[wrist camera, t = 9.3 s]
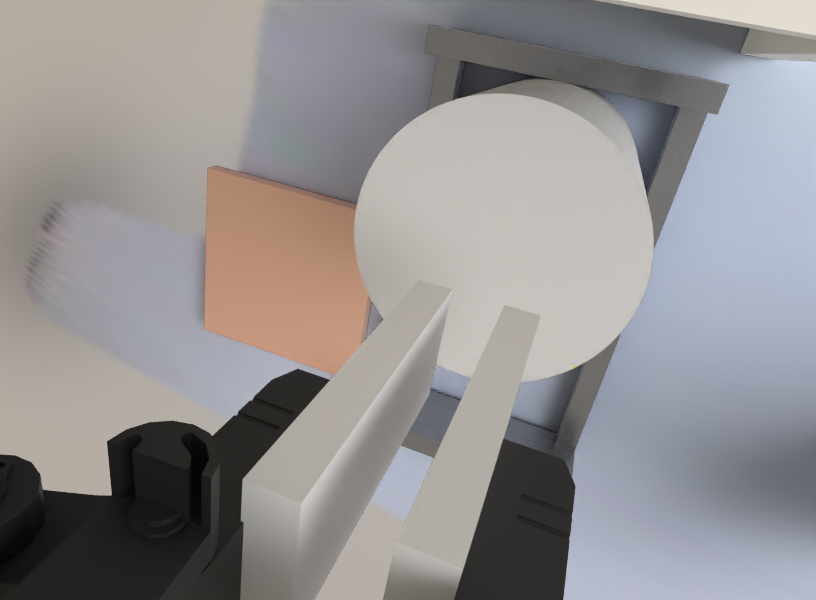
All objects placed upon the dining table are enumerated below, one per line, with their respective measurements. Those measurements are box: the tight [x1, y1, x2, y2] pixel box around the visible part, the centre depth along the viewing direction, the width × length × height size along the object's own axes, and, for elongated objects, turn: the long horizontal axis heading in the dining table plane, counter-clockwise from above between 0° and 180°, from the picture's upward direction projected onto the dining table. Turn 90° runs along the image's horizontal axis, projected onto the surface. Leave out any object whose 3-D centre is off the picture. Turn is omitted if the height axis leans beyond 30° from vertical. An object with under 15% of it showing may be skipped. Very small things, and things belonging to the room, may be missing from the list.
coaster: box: [204, 166, 372, 375], centre depth 32 cm, size 10×10×1 cm
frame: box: [401, 25, 729, 477], centre depth 26 cm, size 19×11×4 cm, turn 169°
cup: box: [354, 77, 654, 382], centre depth 21 cm, size 8×8×12 cm
